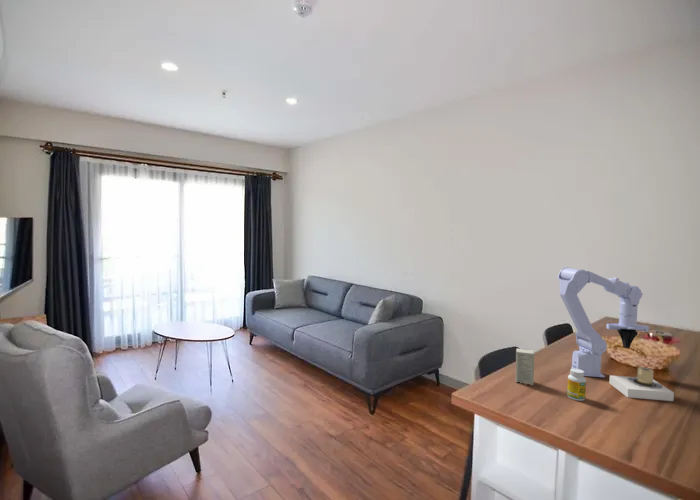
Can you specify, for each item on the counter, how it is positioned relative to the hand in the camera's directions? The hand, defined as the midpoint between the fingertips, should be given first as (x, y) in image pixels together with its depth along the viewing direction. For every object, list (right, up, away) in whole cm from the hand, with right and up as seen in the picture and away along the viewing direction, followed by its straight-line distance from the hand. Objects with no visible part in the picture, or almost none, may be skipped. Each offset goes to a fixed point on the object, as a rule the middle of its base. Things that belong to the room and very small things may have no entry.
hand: (626, 347), depth 148 cm
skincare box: (-47, -11, -10) cm, 49 cm away
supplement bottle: (-35, -12, -23) cm, 43 cm away
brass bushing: (-6, -11, -17) cm, 21 cm away
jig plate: (-8, -11, -17) cm, 22 cm away
